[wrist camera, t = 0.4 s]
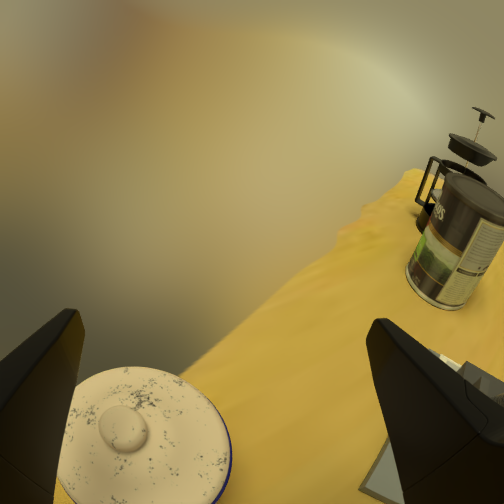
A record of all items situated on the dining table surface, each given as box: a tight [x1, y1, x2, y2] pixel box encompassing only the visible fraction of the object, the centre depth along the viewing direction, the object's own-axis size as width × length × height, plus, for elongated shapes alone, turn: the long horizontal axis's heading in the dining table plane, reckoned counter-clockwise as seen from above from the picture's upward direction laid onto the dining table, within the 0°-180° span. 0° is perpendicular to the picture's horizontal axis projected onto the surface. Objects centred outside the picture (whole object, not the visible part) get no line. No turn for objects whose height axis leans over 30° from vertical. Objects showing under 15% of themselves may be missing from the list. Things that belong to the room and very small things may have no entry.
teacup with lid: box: [57, 367, 232, 504], centre depth 13 cm, size 12×9×12 cm
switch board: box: [358, 349, 504, 504], centre depth 18 cm, size 16×14×6 cm
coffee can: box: [406, 173, 504, 310], centre depth 33 cm, size 10×10×14 cm
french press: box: [415, 107, 497, 234], centre depth 42 cm, size 12×9×23 cm
